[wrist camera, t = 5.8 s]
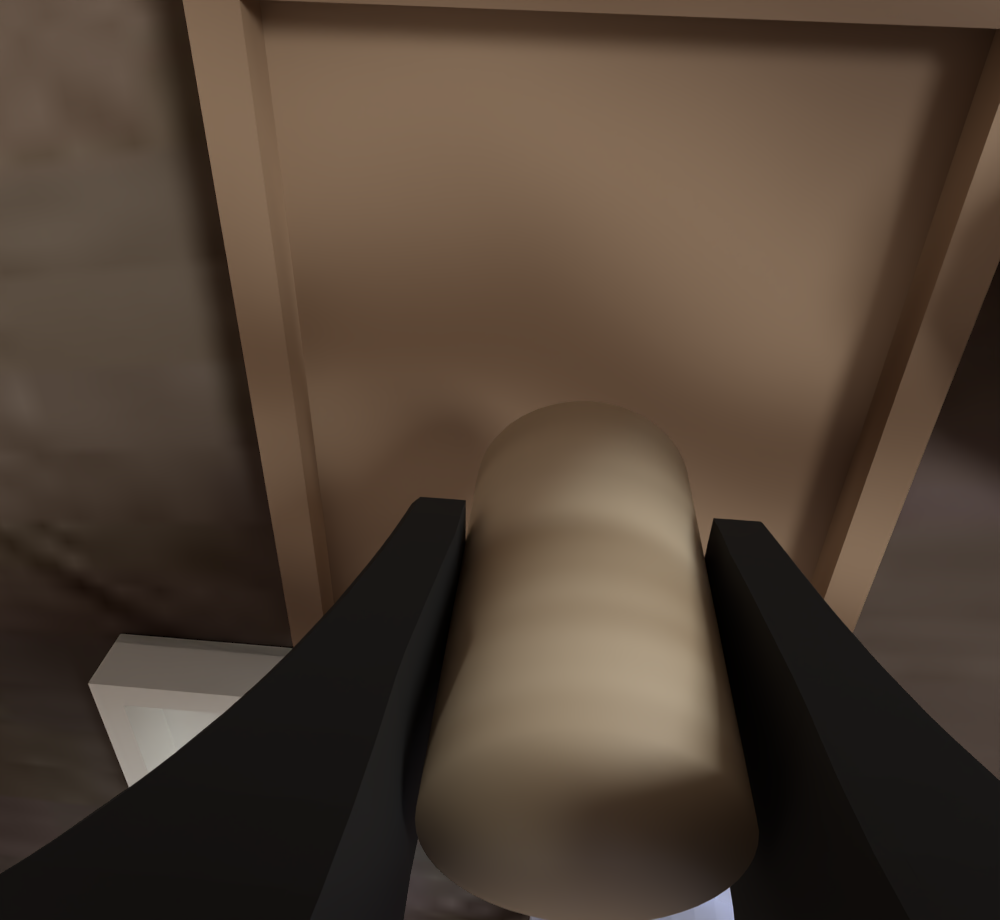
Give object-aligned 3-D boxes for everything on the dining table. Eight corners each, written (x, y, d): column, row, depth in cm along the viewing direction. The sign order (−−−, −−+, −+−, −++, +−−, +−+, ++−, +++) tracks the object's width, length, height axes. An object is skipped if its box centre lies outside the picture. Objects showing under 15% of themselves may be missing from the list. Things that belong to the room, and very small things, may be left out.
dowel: (668, 581, 13) (718, 940, 8) (472, 561, 13) (415, 905, 8) (708, 412, 11) (801, 752, 6) (481, 391, 11) (413, 711, 7)
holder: (369, 795, 23) (356, 847, 22) (169, 776, 23) (144, 827, 22) (353, 652, 20) (336, 705, 18) (120, 633, 20) (88, 683, 19)
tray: (811, 662, 19) (824, 703, 18) (309, 621, 19) (295, 659, 18) (1068, -44, 11) (1118, -41, 10) (205, -73, 11) (170, -74, 10)
